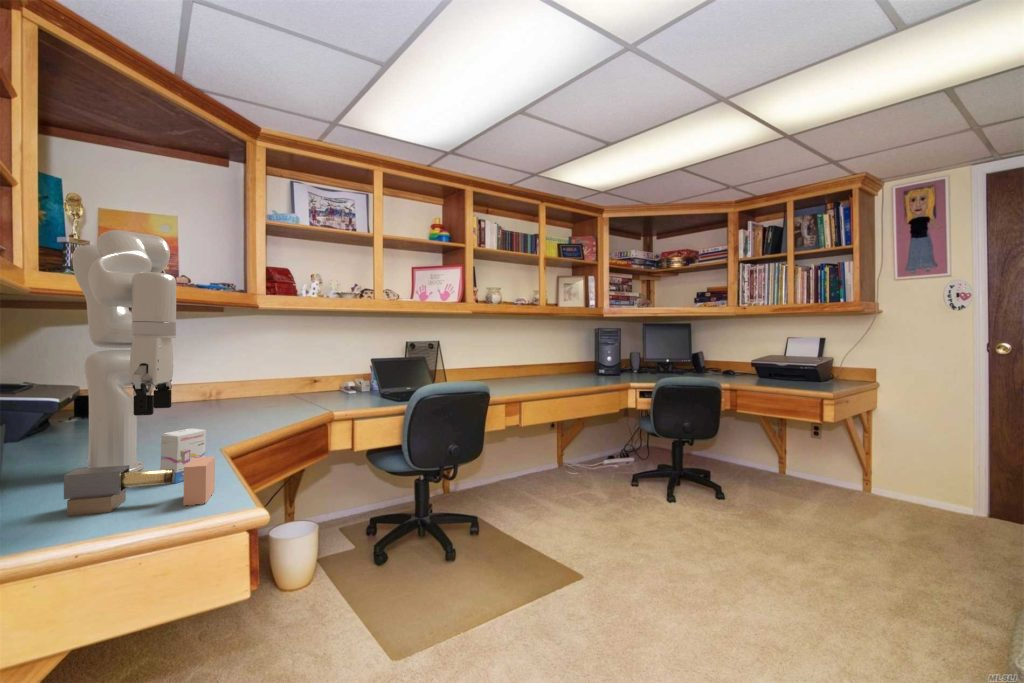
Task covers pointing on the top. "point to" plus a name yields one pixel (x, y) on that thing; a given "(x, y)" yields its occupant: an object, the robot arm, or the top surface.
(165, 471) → the tube
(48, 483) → the top surface
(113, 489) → the grey block
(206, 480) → the socket
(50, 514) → the top surface
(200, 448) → the ink box
